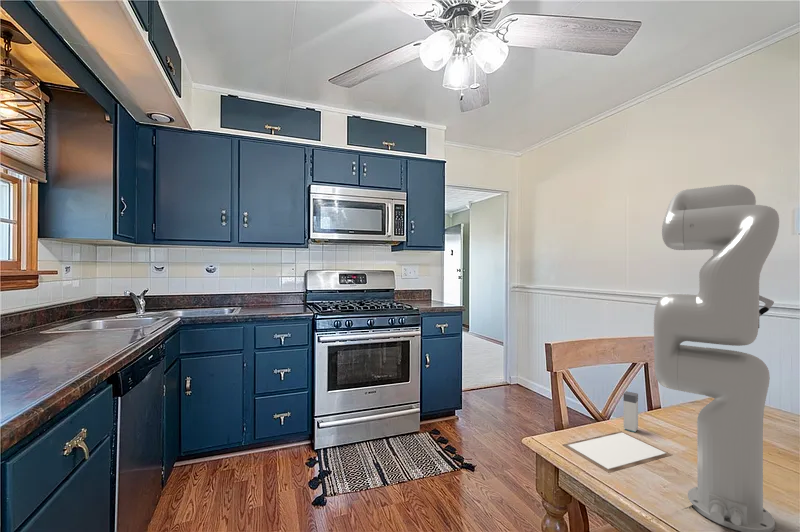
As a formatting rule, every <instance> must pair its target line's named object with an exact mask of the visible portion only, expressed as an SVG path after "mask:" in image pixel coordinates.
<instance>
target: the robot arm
mask: <svg viewBox="0 0 800 532" xmlns="http://www.w3.org/2000/svg"><path fill="white" fill-rule="evenodd" d="M661 227H662V228H661V236H662V241H663V243H664V245H666V247H668V248H669V249H670V250H674V251H692V250H693V251H702V250H712V256H711V257H710V258H708V259H707V260H706V262H704V264H703V265H702V266H701V268H700V269H699V275H698V277H699V278H698V279H699V280H698V282H699V284H698V285H699V287H698V289H699V290H698V291H699V292H698V293H697V294H688V293H687V294H686V293H685V294H683V293H671V294H670V293H669V294H665V295H663V296H662V297H661V296H660V298H658V300H657V302H656V303H655V308H654V312H653V354H654V357H653V358H654V361H653V364H654V374H655V378H656V381H657V382H658V383H659V384H660V385H661V386H662V387H664V388H666V389H669V390H673V391H678V392H684V393H685V392H686V393H690V394H694V395H695V394H696V395H701V396H705V397H709V398H712V400H711V401H710V402H709V403H707V404H706V405H705V406H703V407H702V408H701V410H700V411H699V413H698V416H697V421H696V423H697V424H696V425H697V429H696V430H697V439H696V441H697V442H696V443H697V448H696V450H697V454H696V455H697V467H696V469H697V486H695V487H692V488H690V489H689V490H688V491H687V498H688V500H689V502H690V503H691V507H692V508H693V509H695V511H697V513H699V514H700V515H702V516H704V517H706V518H707V519H709V520H710V521H712V522H715V524H718V525H721V526H723V527H726V528H727V529H730V530H735V531H737V532H773V531H774V530H775V529H776V521H775V519H774V517H773V515H772V514H771V513H770V512H769V511H768V510H767V509H765V508H764V459H763V458H764V415H765V414H764V413H765V407H766V401H767V395H768V390H769V387H770V370H769V368H768V365H766V363H765V362H764V361H763V360H762V359H760V358H759V356H758V357H757V356H755V355H753V354H750V353H748V352H743V351H737V350H731V349H724V348H716V347H715V348H714V347H707V346H706V347H704V346H697V345H696V346H695V345H688V344H687V345H685V344H682V343H683V342H693V343H703V344H710V345H711V344H712V345H723V346H734V347H735V346H738V347H739V346H749V345H751V344H753V343H754V342H755V341H756V340H757V337H758V332H759V329H760V317H761V316H762V315H764V314H765V313H767V312H768V311H769V310H770V309H771V308H772V307H773V305H774V303H775V301H774V300H772V299H769V298H767V297H765V296H762V295H760V278H761V272H762V269H763V267H764V264H765V262H766V260H767V259H768V257H769V256H770V253H771V251H772V250H773V247H774V246H775V243H776V241H777V239H778V238H777V237H778V234H779V228H780V217H779V212H778V211H777V210H776V209H775V208H773V207H771V206H767V205H761V204H757V200H756V196H755V193H754V192H753V191H752V190H751V189H750V188H749V187H746V186H743V185H740V184H739V185H738V184H724V185H723V184H722V185H715V186H714V185H713V186H705V187H697V188H687V189H682V190H681V191H679V192H677V193H676V194H674V195H673V197H672V198H671V200H670V201H669V204H668V206H667V209H666V212H665V216H664V218H663V221H662V226H661ZM760 302H762V303H764V306H763V307H761V308H760Z"/></svg>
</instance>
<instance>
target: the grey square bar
mask: <svg viewBox="0 0 800 532" xmlns="http://www.w3.org/2000/svg"><path fill="white" fill-rule="evenodd" d="M623 429H624V430H625V431H628V432H631V433H636V431H638V429H639V393H637V392H632V391H631V392H630V391H629V390H628V391H624V392H623Z"/></svg>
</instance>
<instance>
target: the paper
mask: <svg viewBox="0 0 800 532" xmlns="http://www.w3.org/2000/svg"><path fill="white" fill-rule="evenodd" d="M624 433H625V432H624ZM624 433H618V434H614V435H609V436H605V437H601V438H596V439H592V440H587V441H583V442H579V443H574V444H570V445H568V446H569V447H571V448H572V449H574V450H576V451H577V452H579V453H581V454H582V455H584V456H586V457H587V458H589V459H591V460H593V461H594V462H596V463H598V464H599V465H601V466H603V467H604V468H606V469H608V470H609V469H612V468H616V467H620V466H623V465H627V464H631V463H634V462H638V461H642V460H645V459H649V458H652V457H656V456H660V455H663V454H666V453H665V452H663V451H664V450H663V451H661V450H662V449H661V450H659V449H660V448H659V449H657V448H658V447H657V448H654V447H652V446H650V445H651V444H650V445H648V444H649V443H648V444H646V443H647V442H646V443H644V442H645V441H644V442H641V441H639V440H637V439H638V438H637V439H635V438H636V437H635V438H633V437H634V436H633V437H631V436H632V435H631V436H629V435H630V434H629V435H626V434H627V433H626V434H624Z"/></svg>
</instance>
